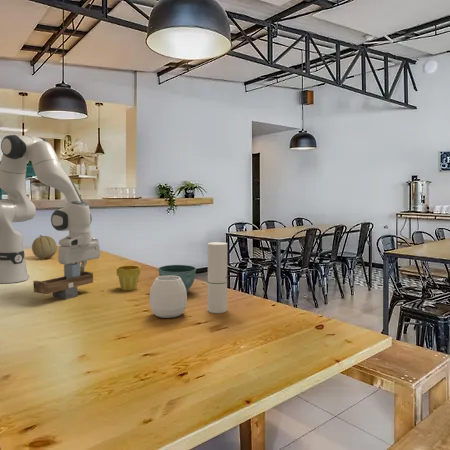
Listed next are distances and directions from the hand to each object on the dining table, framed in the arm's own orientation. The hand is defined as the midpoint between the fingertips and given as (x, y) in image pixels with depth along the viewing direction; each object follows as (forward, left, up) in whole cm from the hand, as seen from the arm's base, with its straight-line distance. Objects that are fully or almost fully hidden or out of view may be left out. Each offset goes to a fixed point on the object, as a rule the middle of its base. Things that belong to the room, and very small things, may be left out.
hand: (80, 271), depth 181 cm
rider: (0, -5, -3) cm, 5 cm away
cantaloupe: (-87, +50, -9) cm, 100 cm away
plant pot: (+13, +16, -9) cm, 22 cm away
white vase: (+52, -7, -9) cm, 53 cm away
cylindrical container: (+64, +7, -9) cm, 65 cm away
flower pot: (+36, +21, -9) cm, 43 cm away
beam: (0, -8, -9) cm, 12 cm away
